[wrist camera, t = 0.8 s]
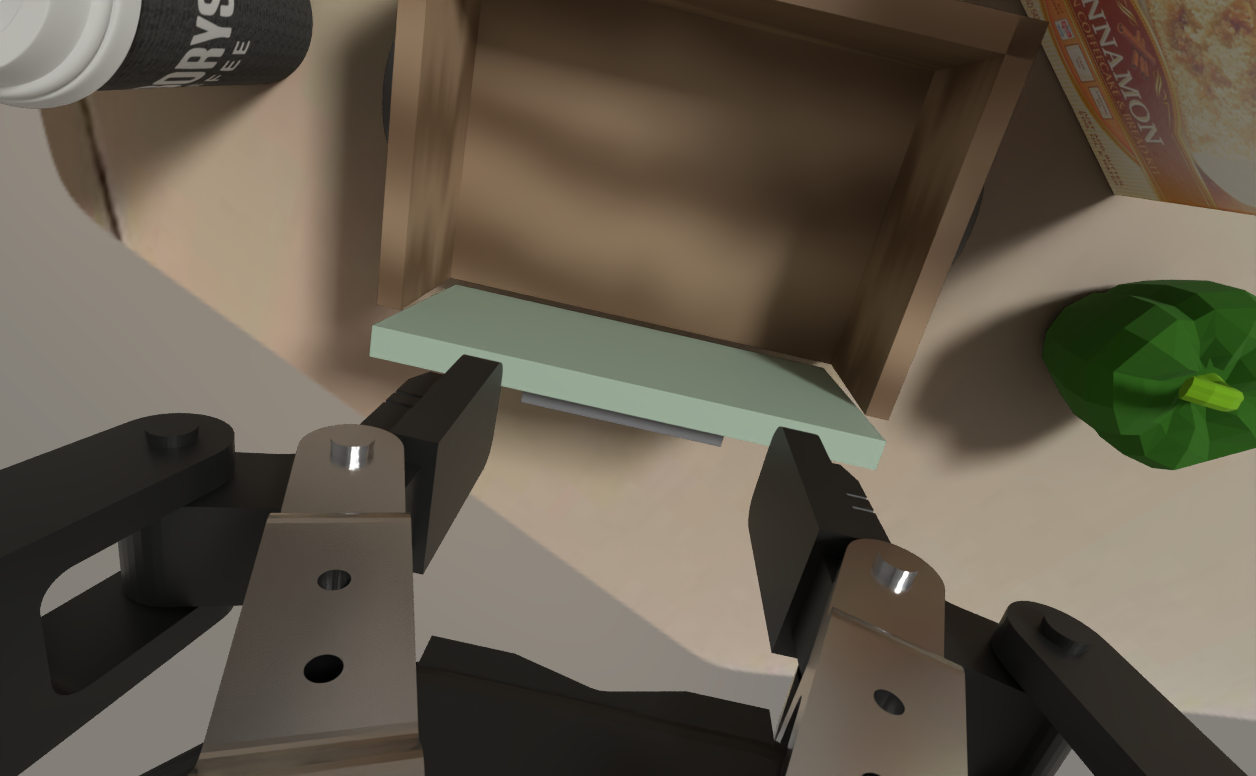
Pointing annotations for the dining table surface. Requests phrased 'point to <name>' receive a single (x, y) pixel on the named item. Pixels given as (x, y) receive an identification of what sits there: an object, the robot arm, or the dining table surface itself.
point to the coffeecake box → (1162, 93)
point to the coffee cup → (144, 45)
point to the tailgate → (629, 372)
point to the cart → (702, 162)
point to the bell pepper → (1161, 369)
